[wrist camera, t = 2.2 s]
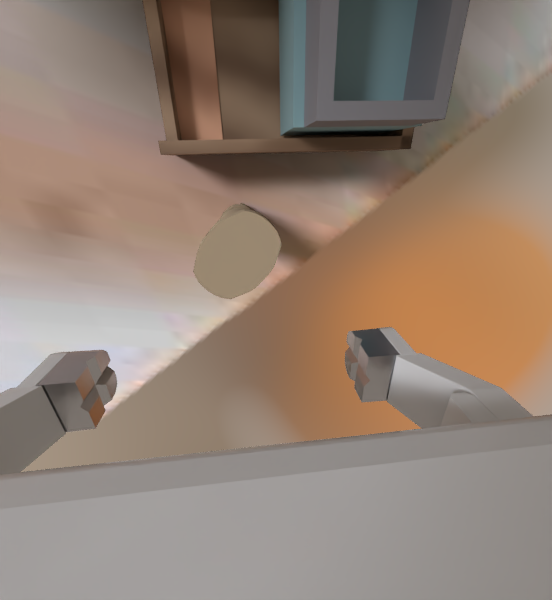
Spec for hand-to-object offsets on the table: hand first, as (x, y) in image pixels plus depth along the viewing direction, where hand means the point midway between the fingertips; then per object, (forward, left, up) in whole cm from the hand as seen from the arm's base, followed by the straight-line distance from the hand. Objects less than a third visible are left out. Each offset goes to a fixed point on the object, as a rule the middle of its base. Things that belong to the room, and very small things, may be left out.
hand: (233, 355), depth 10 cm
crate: (-13, +10, -24) cm, 29 cm away
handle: (0, 0, -26) cm, 26 cm away
